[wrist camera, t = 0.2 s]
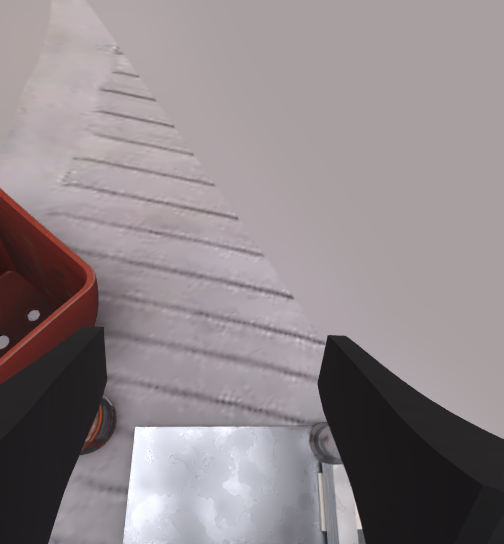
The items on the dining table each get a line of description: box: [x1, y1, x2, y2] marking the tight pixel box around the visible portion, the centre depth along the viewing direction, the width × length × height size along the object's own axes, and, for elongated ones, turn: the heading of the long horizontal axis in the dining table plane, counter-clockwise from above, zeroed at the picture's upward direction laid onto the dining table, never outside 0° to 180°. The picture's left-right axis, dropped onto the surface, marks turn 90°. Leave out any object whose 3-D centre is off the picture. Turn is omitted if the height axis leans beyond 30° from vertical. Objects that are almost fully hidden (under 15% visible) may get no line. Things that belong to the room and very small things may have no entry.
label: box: [317, 473, 362, 531], centre depth 38 cm, size 5×5×1 cm
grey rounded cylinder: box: [309, 422, 341, 461], centre depth 39 cm, size 4×4×4 cm
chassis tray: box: [123, 426, 366, 544], centre depth 37 cm, size 17×24×1 cm
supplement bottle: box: [80, 395, 116, 455], centre depth 34 cm, size 6×6×11 cm
